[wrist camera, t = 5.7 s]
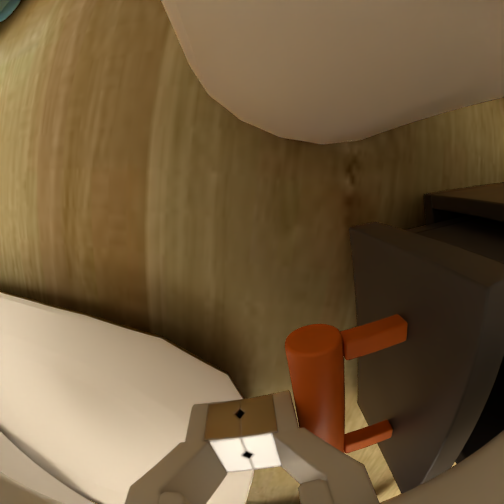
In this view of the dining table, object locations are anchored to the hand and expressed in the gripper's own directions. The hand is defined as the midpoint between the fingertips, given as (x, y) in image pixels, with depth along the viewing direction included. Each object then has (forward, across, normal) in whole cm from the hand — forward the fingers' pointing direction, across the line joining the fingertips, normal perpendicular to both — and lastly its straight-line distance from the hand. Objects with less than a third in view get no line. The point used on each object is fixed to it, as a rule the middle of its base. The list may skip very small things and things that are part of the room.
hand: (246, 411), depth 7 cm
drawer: (+3, -8, 0) cm, 8 cm away
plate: (+4, +12, +6) cm, 14 cm away
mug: (+4, -6, -12) cm, 15 cm away
